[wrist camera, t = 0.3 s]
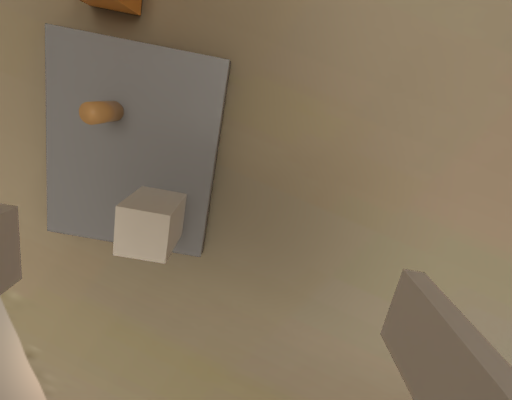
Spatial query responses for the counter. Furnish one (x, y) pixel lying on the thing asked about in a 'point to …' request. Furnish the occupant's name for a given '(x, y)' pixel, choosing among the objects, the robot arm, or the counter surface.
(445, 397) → the robot arm
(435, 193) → the counter surface
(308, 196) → the counter surface
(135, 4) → the orange rectangular block
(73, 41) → the plate
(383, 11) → the counter surface
